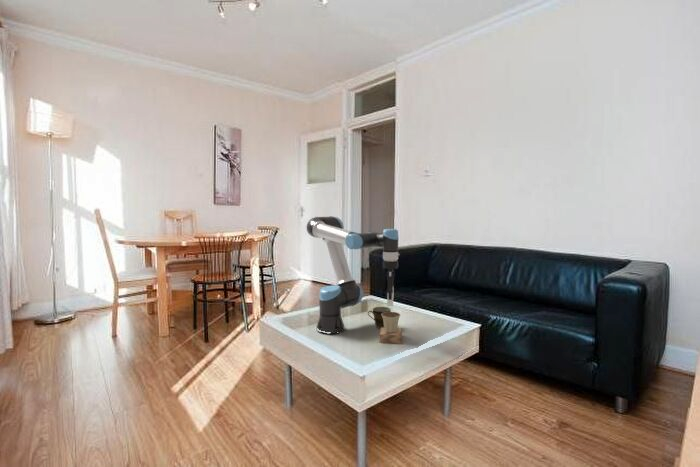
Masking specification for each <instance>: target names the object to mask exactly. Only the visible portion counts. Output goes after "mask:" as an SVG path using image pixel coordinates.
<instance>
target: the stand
mask: <svg viewBox="0 0 700 467" xmlns="http://www.w3.org/2000/svg"><path fill="white" fill-rule="evenodd" d="M378 340H379V343H381V344H382V343H384V344H403V328H402V327H401V328H400V327H397V332H395V333H394V332H392V333H387V332H385V331H384V328H379V334H378Z"/></svg>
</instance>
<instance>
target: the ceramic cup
mask: <svg viewBox="0 0 700 467" xmlns="http://www.w3.org/2000/svg"><path fill="white" fill-rule="evenodd" d="M391 310H392V309H391V307H389V306H376V307H373V308H372V310H369V311H368V312H367V315H368V316H369V317H370V318H371V319H372V320H373V321H374V324H375V328H377V329H380V328H384V322H383V318H382V315H381V314H382V313H384V312H392V311H391ZM369 313H372V315H373V316H371V315H370V314H369ZM373 317H374V318H373Z"/></svg>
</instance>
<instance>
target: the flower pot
mask: <svg viewBox="0 0 700 467" xmlns="http://www.w3.org/2000/svg"><path fill="white" fill-rule="evenodd" d="M381 315H382V318H383V322H384V331H385V332H387V333H392V332H394V333H395V332H397V328H399V326H398V325H399V319H400V317H401V314H400V313H399V312H395V311H391V312H384V313H382V314H381Z"/></svg>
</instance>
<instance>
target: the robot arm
mask: <svg viewBox="0 0 700 467" xmlns="http://www.w3.org/2000/svg"><path fill="white" fill-rule="evenodd" d="M306 232H307V233H308V234H309V236H311V237H313V238H316V239H321V238H322V241H323V242H324V243H326V246H327V249H328V254H329V256H330V260H331V264H332V265H331V266H332V267H333V271H334V275H335V278H336V282H337V283H336V284H332V285H327V286H323V287H322V288H321V289H320V290H319V293H318V294H319V296H318V299H319V300H318V301H319V304H318V305H319V317H318V319H317V324H316V329H317V328H318V329H319V330H321V331H325V332H331V333H337V332H341V333H343V332H344V331H345V322H344V321H343V317H342V309H345V308H349V307H354V306H356V305H358V304H360V303H361V302H362V300H363V298H364V291H363V288H362V286H361V285H360V284H358V283H357V282H356V279H354V278H352V275H351V272H350V271H351V270H350V267H349V264H348V261H347V257H346V254H345V250H344V247H343V245H345V246H346V247H347V248H348V249H349V250H360V249H361V250H362V249H368V248H369V249H370V248H382V260H383V261H382V268H383V269H387V271H386V281H387V290H386V291H385V293H386V295H387V296H386V297H387V298H386V301H387V302H386V303H387V304H386V307H393V306H394V299H395V298H394V297H395V295H394V291H395V290H394V289H395V288H394V287H396V284H395V283H394V280H395V274H396V272H395V271H394V270H395V269H396V270H397V269H398V268H399V256H400V253H399V230H398V229H396V228H385V229H383V231H382V232H379V231H378V232H377V231H370V232H364V233H363V232H362V233H360V232H359V233H358V232H355V231H352V230H351V231H350V230H348V229H346V228H344V223H343V222H342V220H341V219H340V217H338V216H330V215H329V216H314V217H311V218H310V219H309V220H308V221H307V223H306ZM342 331H343V332H342ZM337 334H338V333H337Z"/></svg>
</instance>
